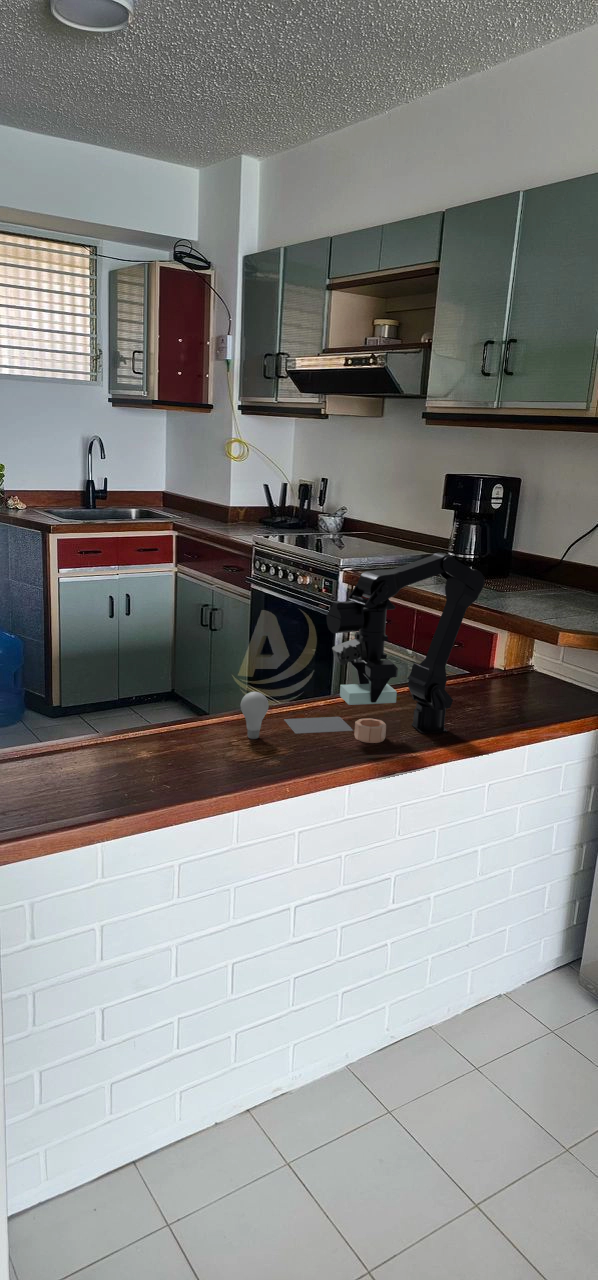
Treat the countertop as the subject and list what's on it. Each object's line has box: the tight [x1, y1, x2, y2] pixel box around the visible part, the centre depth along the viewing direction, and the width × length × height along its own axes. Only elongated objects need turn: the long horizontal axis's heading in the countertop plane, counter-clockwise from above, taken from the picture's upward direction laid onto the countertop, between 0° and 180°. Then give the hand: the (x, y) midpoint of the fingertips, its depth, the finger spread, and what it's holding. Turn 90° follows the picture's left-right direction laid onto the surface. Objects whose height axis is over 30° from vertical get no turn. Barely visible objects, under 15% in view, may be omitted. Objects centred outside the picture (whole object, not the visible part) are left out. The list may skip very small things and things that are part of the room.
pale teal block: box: [339, 683, 398, 706], centre depth 194 cm, size 11×7×3 cm, turn 105°
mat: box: [283, 716, 355, 735], centre depth 203 cm, size 14×10×1 cm
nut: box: [353, 718, 387, 744], centre depth 196 cm, size 7×7×4 cm
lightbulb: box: [240, 691, 270, 740], centre depth 191 cm, size 6×6×11 cm
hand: (368, 697), depth 195 cm, fingers closed on pale teal block, 7 cm apart
